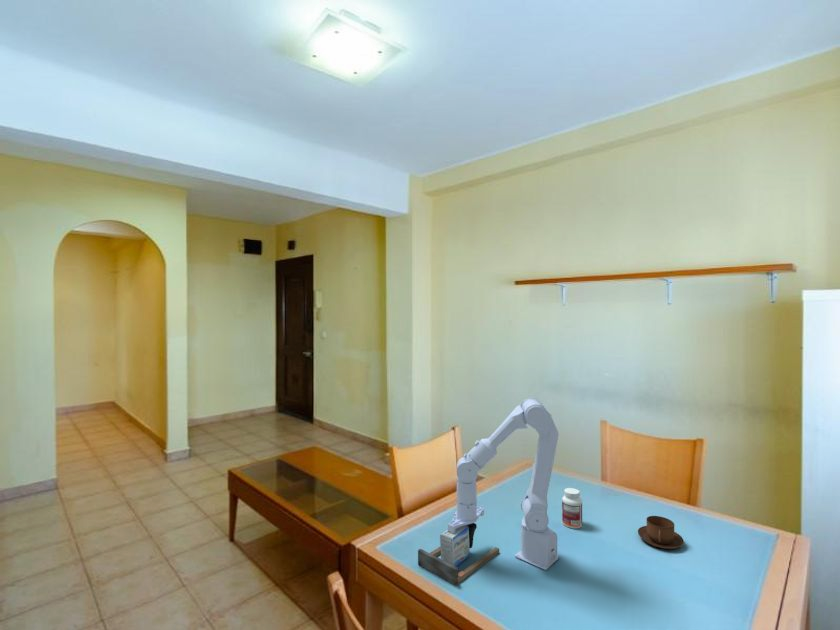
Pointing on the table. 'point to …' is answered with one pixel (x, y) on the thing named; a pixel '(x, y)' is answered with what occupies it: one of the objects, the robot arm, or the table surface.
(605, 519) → the table surface
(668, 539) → the cup and saucer
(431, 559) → the u-shaped wooden frame
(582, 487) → the table surface
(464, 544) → the medicine box
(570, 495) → the pill bottle
